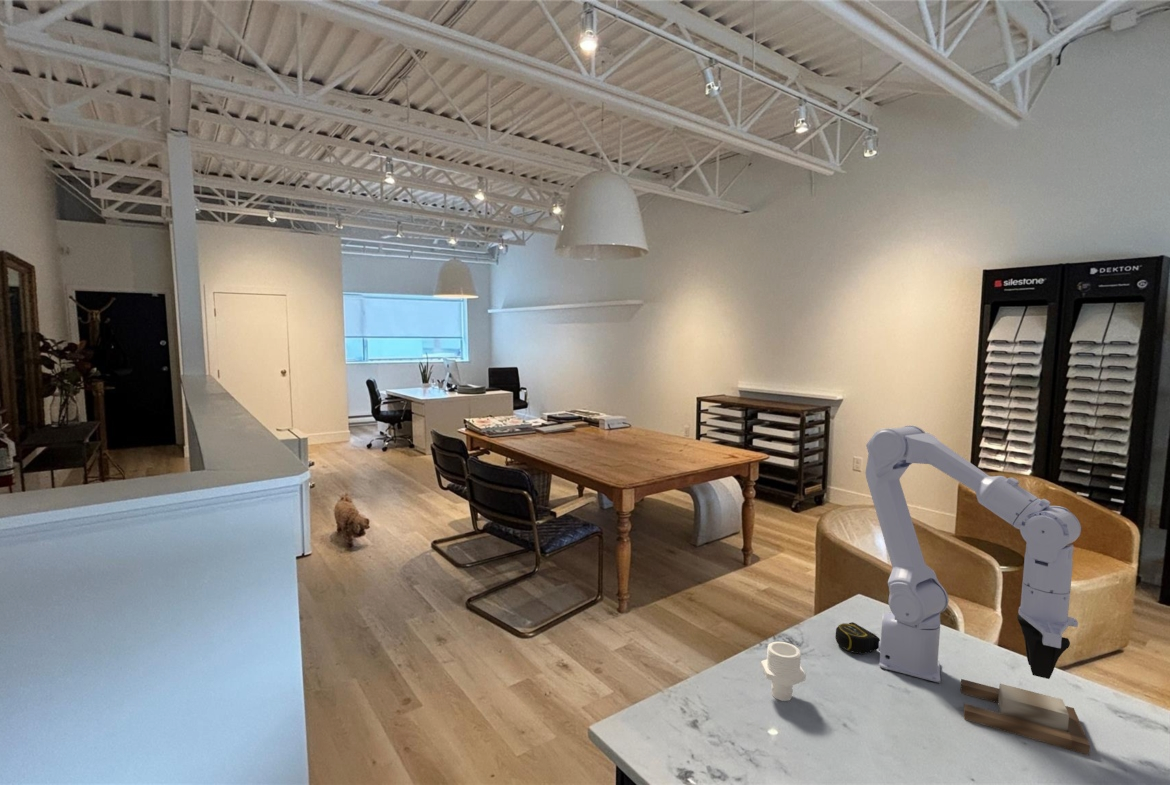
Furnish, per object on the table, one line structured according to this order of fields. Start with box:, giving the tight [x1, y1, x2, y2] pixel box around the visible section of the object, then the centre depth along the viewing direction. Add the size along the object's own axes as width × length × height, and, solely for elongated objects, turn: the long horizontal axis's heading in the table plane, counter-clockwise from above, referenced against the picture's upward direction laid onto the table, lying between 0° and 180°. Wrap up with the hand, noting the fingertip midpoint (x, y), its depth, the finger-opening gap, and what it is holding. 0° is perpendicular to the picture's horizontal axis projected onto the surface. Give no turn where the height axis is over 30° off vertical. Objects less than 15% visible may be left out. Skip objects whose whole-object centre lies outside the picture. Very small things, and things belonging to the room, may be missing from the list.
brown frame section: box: [960, 678, 1091, 756], centre depth 90 cm, size 15×10×2 cm, turn 60°
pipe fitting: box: [760, 641, 807, 702], centre depth 95 cm, size 6×7×8 cm
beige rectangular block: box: [997, 683, 1069, 732], centre depth 89 cm, size 8×4×4 cm, turn 60°
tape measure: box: [834, 621, 881, 655], centre depth 111 cm, size 7×7×4 cm
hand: (1038, 671), depth 88 cm, fingers open, 3 cm apart
